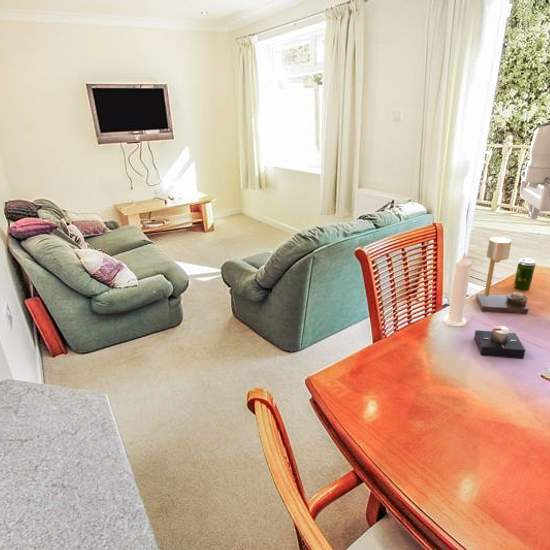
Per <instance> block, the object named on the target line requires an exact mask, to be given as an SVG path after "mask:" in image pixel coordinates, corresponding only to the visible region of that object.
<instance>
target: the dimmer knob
mask: <svg viewBox="0 0 550 550" xmlns="http://www.w3.org/2000/svg"><path fill="white" fill-rule="evenodd" d="M491 331H492V335H491V339H492V340H493V341H494V342H496V343H500V344H505V343H507V342H508V339H509V335H510V333H511V330H510V329H509V327H507V326H503V325H494V326H493V327H492V329H491Z"/></svg>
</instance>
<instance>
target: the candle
mask: <svg viewBox="0 0 550 550" xmlns="http://www.w3.org/2000/svg"><path fill="white" fill-rule="evenodd" d="M471 270H472V262H471V261H470V260H469V259H468V257H467V252H464V253H463V255H462V257H461V258H459V259H457V260H456V261H455V264H454V272H453V280H452V285H451V293H450V301H449V307H448V314H447V315H445V316H444V317H443V322H444V323H445V324H446V325H448V326H449V327H455V328H462V327H465V326H466V325H467V322H468V321H467V319H466V318H464V314H465V308H466V302H467V297H468V289H469V283H470V277H471Z"/></svg>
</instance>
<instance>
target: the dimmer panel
mask: <svg viewBox="0 0 550 550" xmlns="http://www.w3.org/2000/svg"><path fill="white" fill-rule="evenodd" d="M491 335H492V330H491V331H490V330H480V329H479V330H478V329H476V330H475V331H474V336H473V338H474V341H475V344H476V346H477V349H478V351H479V354H480V356H487V357H497V358H508V359H520V360H521V359H522V360H523V359H524V358H525V355H526V348H525V347H524V345H523V344H522V342H521V340H520V339H519V337H518V335H517V333H516V332H510V335H509V339H508V342H507V343H505V344H500V343H496V342H494V341H493V340H492V339H491Z"/></svg>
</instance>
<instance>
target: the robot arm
mask: <svg viewBox="0 0 550 550" xmlns="http://www.w3.org/2000/svg"><path fill="white" fill-rule="evenodd" d="M520 177H521V178H522V179H521V182H520V189H519V196H520V199H521V200H523V201H524V202H526V203H527V204H528V205H527V207H528V215H527V217H528V218H530V219H531V220H537V219H538V217H539V214H540V212H550V121H547V122H543V123H541V124H540V125H539V126H538V127H537V128H536V129H535V131H534V134H533V137H532V141H531V145H530V149H529V160H528V162H527V165H526V169H523V170H521V174H520Z"/></svg>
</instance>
